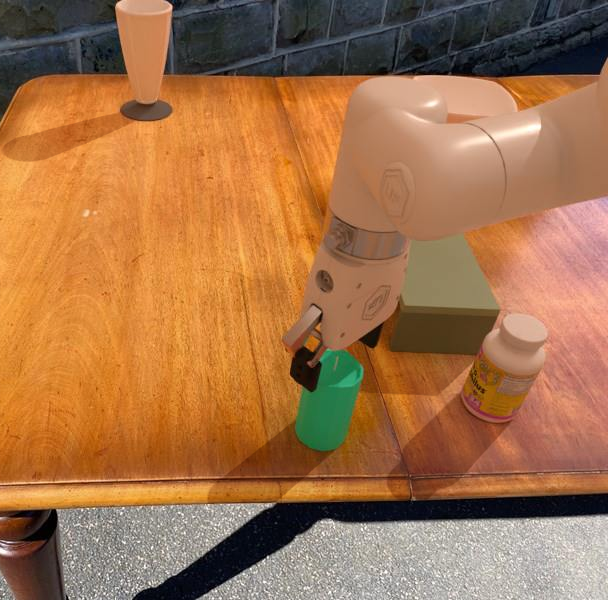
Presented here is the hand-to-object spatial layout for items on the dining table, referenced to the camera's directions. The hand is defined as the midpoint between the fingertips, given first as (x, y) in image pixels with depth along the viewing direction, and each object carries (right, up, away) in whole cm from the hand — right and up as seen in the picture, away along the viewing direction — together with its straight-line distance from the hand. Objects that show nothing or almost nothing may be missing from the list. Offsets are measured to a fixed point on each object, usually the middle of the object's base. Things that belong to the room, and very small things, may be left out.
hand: (333, 361), depth 66 cm
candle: (0, -9, +7) cm, 11 cm away
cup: (-27, +48, +73) cm, 91 cm away
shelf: (+17, +8, +28) cm, 34 cm away
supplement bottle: (+21, -6, +11) cm, 24 cm away
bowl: (+39, +42, +69) cm, 90 cm away
